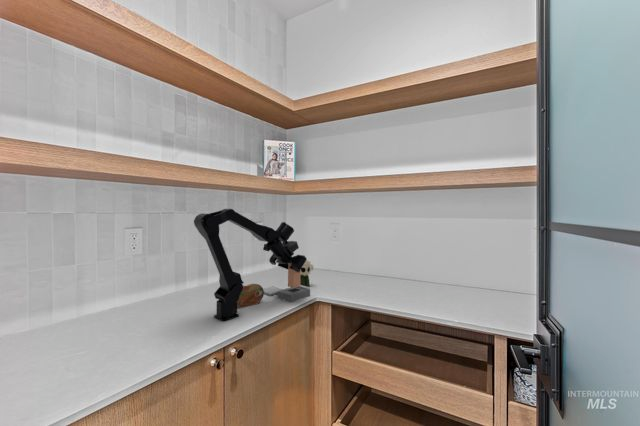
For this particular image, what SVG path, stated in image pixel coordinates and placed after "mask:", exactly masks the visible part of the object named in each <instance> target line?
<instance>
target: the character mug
mask: <svg viewBox="0 0 640 426" xmlns="http://www.w3.org/2000/svg"><path fill="white" fill-rule="evenodd" d="M313 270H314V265H313V263H311V261H310V260H306V261H305V263H304V265H303V266H302V268H301V276H300V285H302V286H306V287H310V276H309V275H310V274H311V272H312V271H313Z"/></svg>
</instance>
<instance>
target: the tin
mask: <svg viewBox="0 0 640 426" xmlns="http://www.w3.org/2000/svg"><path fill="white" fill-rule="evenodd" d="M263 289H264V288H263V287H262V285H260V284H258V283H249V284H244V285H243V289H242V292H241V293H240V296H239V299H238V301H237V309H241V308H245V307H249V306H253V305H254V306H255V305H257V304H259V303H260V302H261V301H262V300H263V298H264V295H265V294H264V290H263Z"/></svg>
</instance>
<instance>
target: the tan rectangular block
mask: <svg viewBox="0 0 640 426" xmlns="http://www.w3.org/2000/svg"><path fill="white" fill-rule="evenodd" d="M290 266H291V264H288V269H287V288H290V287H292V288H295V287H298V286H300V276H301V269H300V272H299V273H298V272H296V271H294V270H292V269H290Z"/></svg>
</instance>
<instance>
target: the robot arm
mask: <svg viewBox="0 0 640 426" xmlns="http://www.w3.org/2000/svg"><path fill="white" fill-rule="evenodd" d="M227 222H230V223H231V224H234V225H236V226H238V227H240V228H241V229H244V230H245V231H248V232H249V233H250V234H252V236H253V237H254V238H256V239H257V240H258V241H259V242H265V243H264V244H263V248H262V249H263V250H262V251H265V252H271V253H272V255H271V256H270V258H269V263H270V264H271V265H274V266H276V264H277V267H280V268H283V269H286V270H288V264H291V266H290V269H292V270H294V271H296V272H298V273H299V272H300V269H301V268H302V266H303V265H304V263H305V261H308V260H307V257H306V256H305V255H304V254H303V255H302V254H296V255H294V254H295V251H297V250H298V249H299V248H300V246H299V244H298V241H295V240H289V239H290V237H291V236H292V235H293V233H294V232H295V229H294V228H293V227H292V226H291V225H290V224H288V223H286V222H284V221H282V222H281V223H280V224H279V226H278V227H277V229H276V230H275V229H274V228H272V227H269V226H268V225H267V226H266V225H262V224H258V223H257V222H255V221H253V220H251V219H249V218H247V217H246V216H244V215H242V214H241V213H239V212H237V211H235V210H234V209H233V208H223V209H221V210H218V211H217V210H216V211H214V212H209V213H199V214H197V215H196V216H195V217H194V220H193V224H194V226H195V228H196V229H197V230H196V231H198V233H199V234H200V235H201V236H202V237H203V239H204V240H205V241H206V245H207V247H208V249H209V251H210V253H211V254H210V255H211V256H212V259H213V261H214V264H215V266H216V269H217V271H218V274H219V277H218V278H219V280H218V281H219V287H218V288H217V289H216V290H215V292H214V293H213V294H214V298H215V300H216V314H214V316H213V317H214V318H216V319H218V320H220V321H222V322H225V321H228V320H232V319H234V318H237V317H239V315H240V314H239V313H238V308H237V301H238V299H239V296H240V293H241V292H242V289H243V286H244V285H243V284H244V283H245V282H244V281H243V279H242V275H241V274H240V273H239V272H236V271H234V270H233V269H232V266H231V264H230V260H229V259H228V256H227V253H226V250H225V248H224V246H223V242H222V240H221V238H220V225H222V224H225V223H227Z"/></svg>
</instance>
